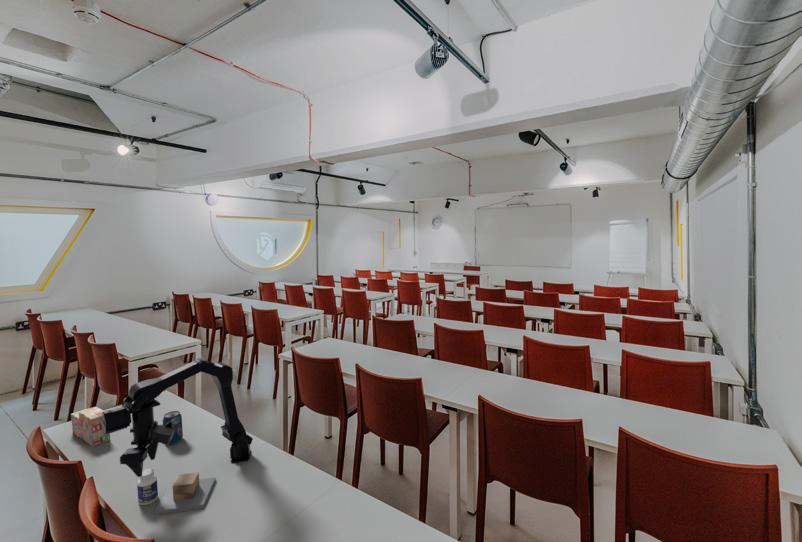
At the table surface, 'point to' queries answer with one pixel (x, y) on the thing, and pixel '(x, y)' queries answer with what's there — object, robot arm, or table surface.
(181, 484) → the tan wooden block
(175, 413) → the soda can
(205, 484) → the base plate
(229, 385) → the robot arm
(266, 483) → the table surface
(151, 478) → the pill bottle
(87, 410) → the stack of blocks
